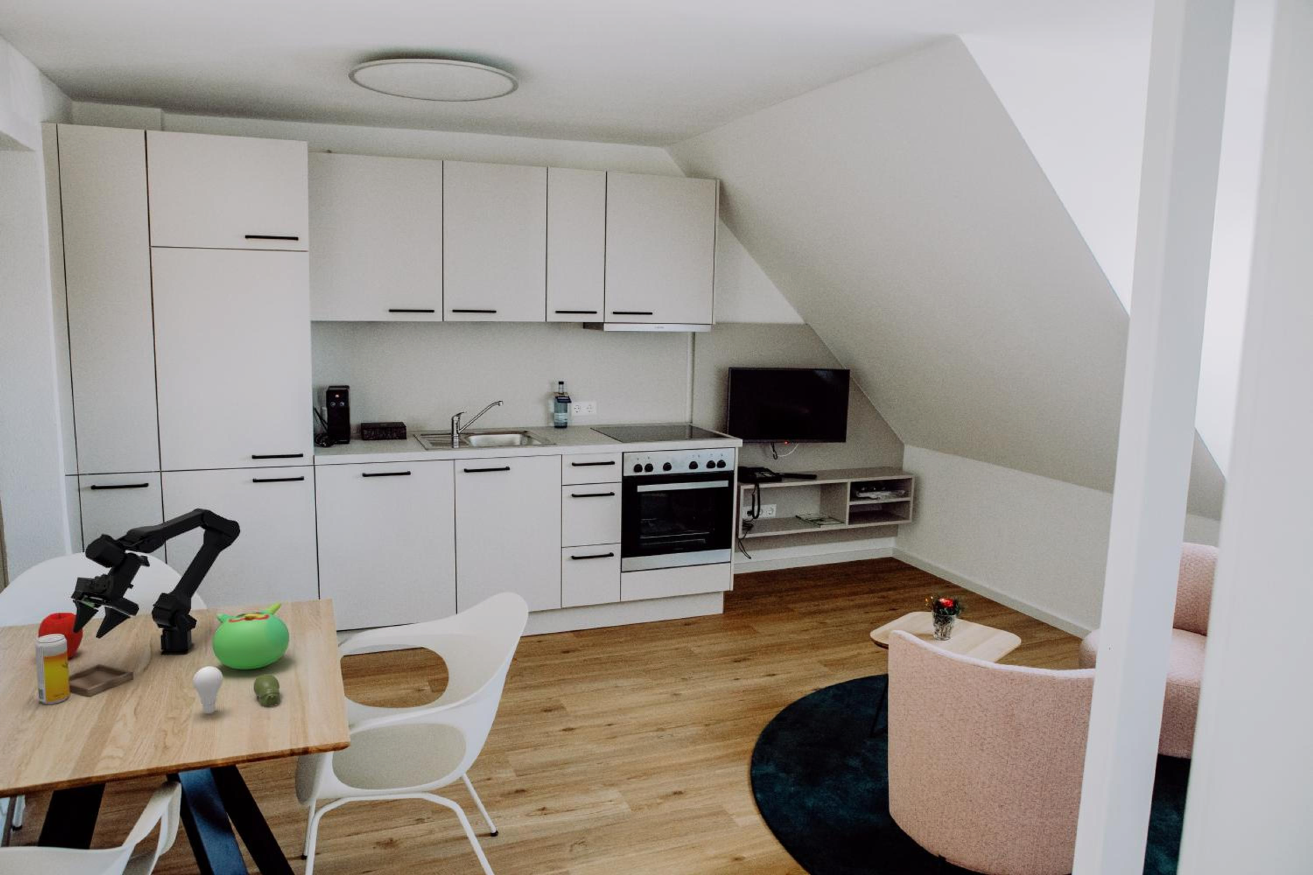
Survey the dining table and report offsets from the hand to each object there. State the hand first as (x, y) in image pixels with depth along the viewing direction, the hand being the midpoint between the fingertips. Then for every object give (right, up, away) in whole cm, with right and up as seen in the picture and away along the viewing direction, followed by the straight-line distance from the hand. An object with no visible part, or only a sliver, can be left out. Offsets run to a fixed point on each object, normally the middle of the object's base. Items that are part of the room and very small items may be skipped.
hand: (85, 635), depth 221 cm
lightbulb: (+35, -16, -12) cm, 40 cm away
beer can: (-3, -14, -7) cm, 16 cm away
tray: (+1, -12, +2) cm, 12 cm away
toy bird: (+33, -11, +16) cm, 38 cm away
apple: (-17, -10, +17) cm, 26 cm away
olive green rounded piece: (+45, -15, -3) cm, 48 cm away
